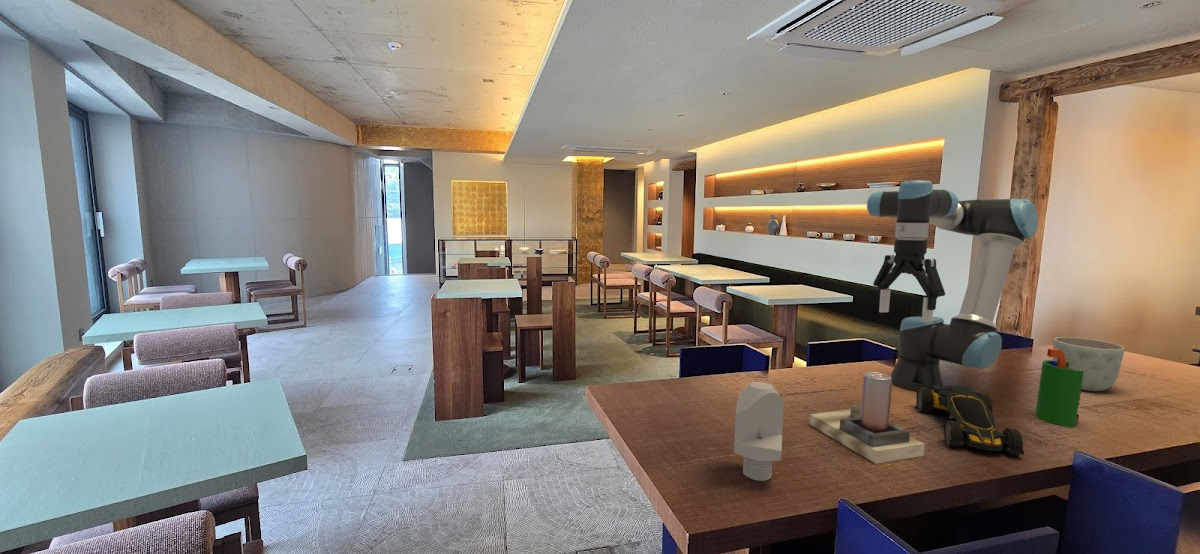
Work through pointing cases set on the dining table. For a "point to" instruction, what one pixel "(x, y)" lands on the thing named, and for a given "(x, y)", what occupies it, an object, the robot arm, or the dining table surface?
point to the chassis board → (867, 436)
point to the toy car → (969, 419)
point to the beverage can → (876, 402)
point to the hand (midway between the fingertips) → (904, 316)
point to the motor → (1059, 391)
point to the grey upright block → (759, 429)
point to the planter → (1092, 360)
